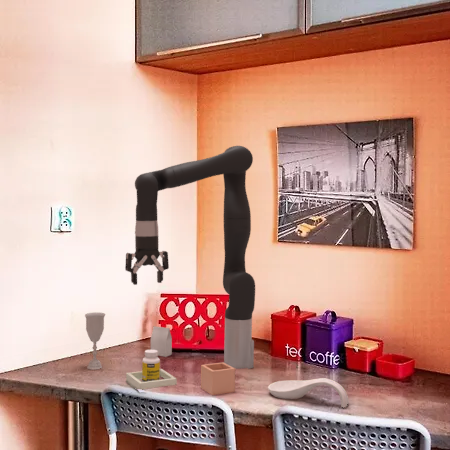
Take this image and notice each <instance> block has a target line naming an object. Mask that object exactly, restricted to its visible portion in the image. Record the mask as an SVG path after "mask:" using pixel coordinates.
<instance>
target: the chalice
mask: <svg viewBox="0 0 450 450" xmlns="http://www.w3.org/2000/svg"><path fill="white" fill-rule="evenodd" d="M105 316H106V313H104V312H88V313H84V317H85V331H86V333H87V335H88V338H89V341H90V342H92V343H93V346H92V349H93V351H92V355H93V358H92V359H91V360H90V361H89V362H88V363H87V364H88V365H87V367H86V368H87V369H88V370H101V369H102V368H103V366H102V363H101V361H100V360H99V359H98V358H97V355H98V352H97V349H98V347H97V343H98V342H99V341H100V339H101V337H102V335H103V332H104V328H105V327H104V326H105ZM100 368H101V369H100Z"/></svg>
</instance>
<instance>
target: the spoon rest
mask: <svg viewBox="0 0 450 450" xmlns="http://www.w3.org/2000/svg"><path fill="white" fill-rule="evenodd" d="M323 385H324V386H328V387H330V388H332V389H333V390H335V391H336V393H337V394H338V395H339V400H340V406H341V408H342V407H345V408H347V407H348V405H349V397H348V393H347V391H346V390H345V389H344V387H343V386H342V385H341V384H340V383H338V382H337V381H334V380H332V379H330V378H325V377H321V378H320V377H319V378H313V379H307V380H304V379H303V380H297V379H293V380H290V379H289V380H278V381H275V382H272V383H270V384H269V385H268V386H267V390H268V391H269V393H270V394H271V395H272V396H273V397H275V398H278V399H283V400H285V399H286V400H296V399H301V398H303V397H304V396H306V395H307V394H308V393H309V392H310V391H312V389H314V388H316V387H318V386H323ZM347 404H348V405H347Z"/></svg>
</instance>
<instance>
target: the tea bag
mask: <svg viewBox="0 0 450 450" xmlns="http://www.w3.org/2000/svg"><path fill="white" fill-rule="evenodd" d="M152 328H153V329H152V333H151V335H150V350H157V351H158V356H160V357H164V358H165V357H169V356H171V355H172V353H173V352H172V351H173V348H172V345H173V344H172V343H173V339H172V333H171V329H170V327H163V326H156V325H155V326H153V327H152ZM158 356H157V357H158Z"/></svg>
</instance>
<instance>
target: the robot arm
mask: <svg viewBox="0 0 450 450" xmlns="http://www.w3.org/2000/svg"><path fill="white" fill-rule="evenodd" d="M253 159H254V158H253V154H252V152H251V151H250V150H249V149H248V148H247V147H246V146H242V145H233V146H230V147H228V148H226V149H225V150H224V151H223V152H222V153H220V154H217V155H214V156H211V157H207V158H202V159H198V160H193V161H188V162H183V163H179V164H174V165H171V166H167V167H165V168H163V169H159V170H155V171H154V170H153V171H149V172H145V173H141V174H139V175H138V176H137V177H136V179H135V180H134V187H135V190H136V205H135V228H134V234H135V236H134V238H135V240H134V243H135V248H134V249H135V251H134V252H133V253H132V252H127V253H126V254H125V267H124V268H125V272H128V273H130V277H131V278H130V282H131V283H132V285H134V286H135V285H136V286H137V285H138V271H139V270H140V268H141V267H142V266H144V267H145V266H154V267H155V269H156V270H157V271H156V277H157V278H156V281H157V283H158V284H162V283H163V281H164V272H165V270H168V269H169V268H170V267H169V266H170V265H169V252H168V251H166V250H162V251H159V223H158V196H159V192H160V191H164V190H166V189H175V188H177V187H182V186H185V185H189V184H192V183H196V182H198V181H202V180H205V179H208V178H211V177H217V176H220V175H223V185H224V192H223V193H224V195H223V240H224V241H223V243H224V244H223V246H224V248H223V249H224V263H223V276H222V286H223V289H224V291H225V292H226V293H227V295H228V307H227V308H226V309H225V312H224V345H223V346H224V347H223V351H224V353H223V355H224V356H223V362H224V363H226V364H227V365H229V366H231V367H233V368H235V370H237V369H248V370H251V369H254V359H255V358H254V356H255V354H254V352H255V350H254V349H255V341H254V339H252V336H253V333H252V332H253V331H252V330H253V327H252V326H253V312H254V310H255V301H256V282H255V279H254V276H252V275H251V273H248V272H246V270H247V269H246V251H247V248H248V244H249V241H250V237H251V231H252V217H251V208H250V201H249V198H248V195H247V191H246V190H247V189H246V187H247V186H246V178H247V177H246V174H247V171H249V169H250V168H251V167H252V164H253V162H254V161H253ZM134 258H135V259H136V261H135V263H134V264H133V263H132V262H133V261H132V260H134ZM159 258H160V259H161V260H162V261H161V262H162V265H161V263H160V261H159V260H158V259H159ZM132 264H133V266H132Z"/></svg>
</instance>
